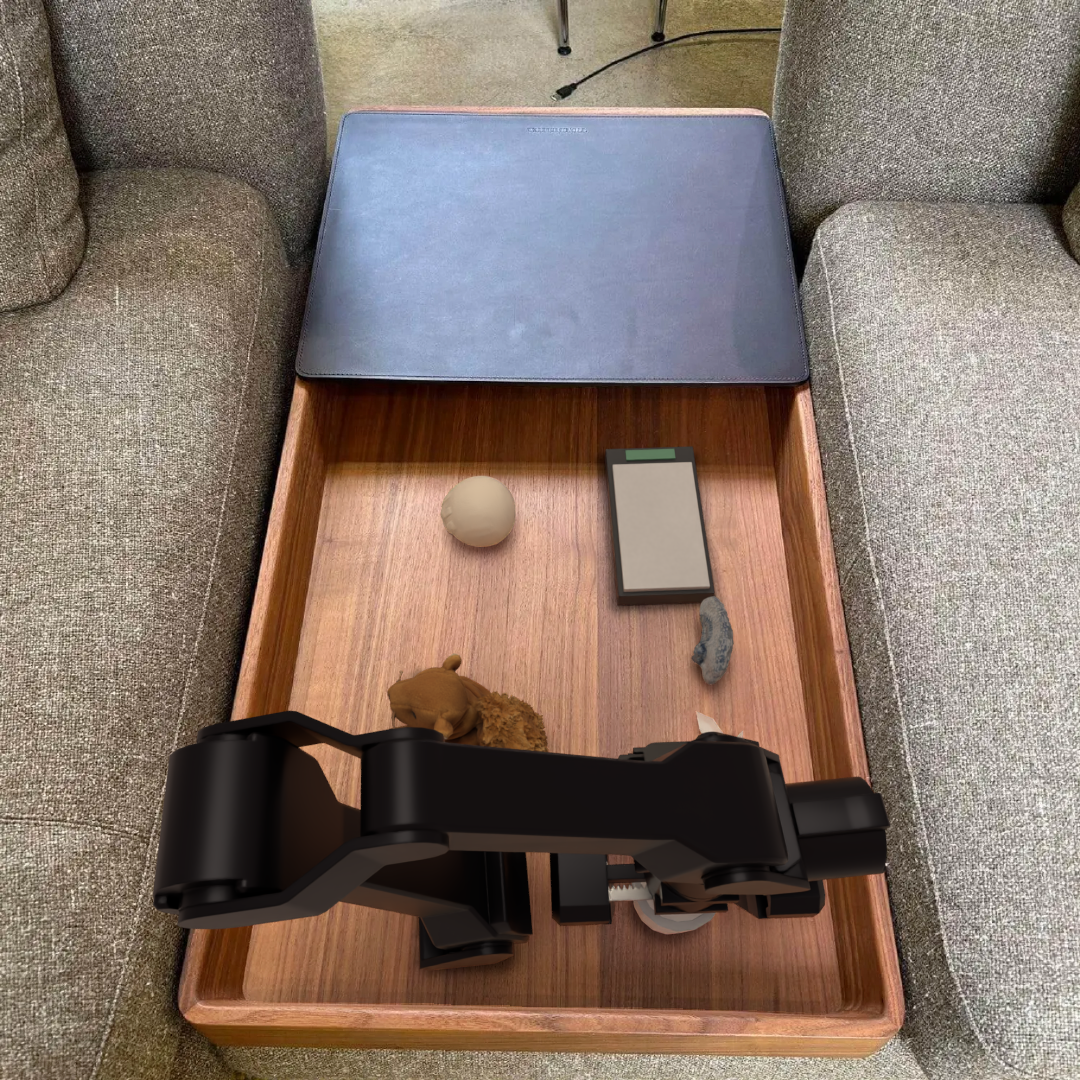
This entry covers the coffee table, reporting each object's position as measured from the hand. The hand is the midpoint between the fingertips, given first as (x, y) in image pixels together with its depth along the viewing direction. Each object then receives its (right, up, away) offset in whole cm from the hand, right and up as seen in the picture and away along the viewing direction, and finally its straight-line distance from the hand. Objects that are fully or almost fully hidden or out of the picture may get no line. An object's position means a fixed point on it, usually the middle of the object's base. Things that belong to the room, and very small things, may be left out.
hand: (669, 892), depth 69 cm
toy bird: (+5, +9, +7) cm, 12 cm away
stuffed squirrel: (-16, +10, +8) cm, 21 cm away
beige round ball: (-16, +29, +19) cm, 38 cm away
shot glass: (0, -1, +2) cm, 2 cm away
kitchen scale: (+1, +29, +19) cm, 35 cm away
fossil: (+5, +17, +12) cm, 22 cm away
